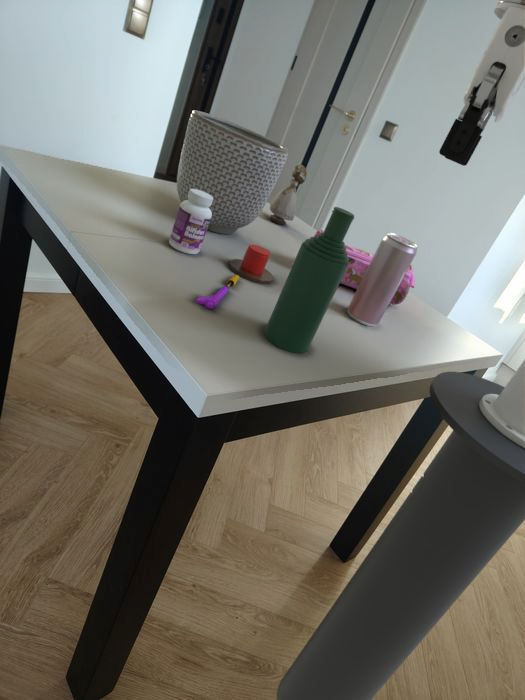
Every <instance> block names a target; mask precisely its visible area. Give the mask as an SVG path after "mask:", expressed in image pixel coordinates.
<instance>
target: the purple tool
mask: <svg viewBox="0 0 525 700" xmlns="http://www.w3.org/2000/svg"><path fill="white" fill-rule="evenodd" d="M239 280H240V275H238V274H234V275H233V276H232V277H230V278H229V279H228V280H227V282H226V284H227V285H223V286H222V287H221V288H220V289H219V290H218V291H217V292H216V293H215V294H213V295H212V294H211V295H209V296H203V295H200V296H199V297H198V298H196V300H195V303H197V304H199V305H204V307H205V308H206V309H211V310H212V309H214V308H215V307H216V306H217V305H218V304H219V303H220V301H221V300H222V299H223V298H224V296H225V295H227V293H228V292H229V290H230V288H233V287H234V286H235V285H236V284H237V282H238V281H239Z"/></svg>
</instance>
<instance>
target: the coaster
mask: <svg viewBox="0 0 525 700" xmlns="http://www.w3.org/2000/svg"><path fill="white" fill-rule="evenodd" d="M242 261H243V259H240V258H234V259H231V260H230V261H229V268H230V269H231V270H232V272H234V273H235V274H236V275H238V276H239V277H242V278H243V279H246V280H248V281H251V282H254V283H257V284H263V285H269V284H272V283H273V282H274V280H275V279H274V278H275V277H274V275H273V273H271V272H270V271H269V270H268V269H267V268H266V267H265V268H264V271H263V273H262V274H261V275H257V274H253V273H250V272H248V271H246V270H245V269H243V268H242V266H241V265H242Z"/></svg>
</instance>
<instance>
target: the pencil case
mask: <svg viewBox="0 0 525 700" xmlns="http://www.w3.org/2000/svg"><path fill="white" fill-rule="evenodd" d="M321 232H322V233H324V230H323V229H318V230H317V231H316V232H315V234H314V235H313V237H315V235H319V234H320V233H321ZM344 246H345V247H346V252H347V253H348V255H347V256H348V257H349V261H348V262H349V265H348V267H347V269H346V271H345V273H344V275H343V278H342V280H341V282H340V284H341V285H344V286H346V287H349V288H351V289H355V290H357V288H358V286H359V284H360V282H361V280H362V278H363V276H364V274H365V272H366V270H367V268H368V266H369V264H370V262H371V260H372V258H373V256H374V254H375V253H371V252H368V251H364V250H362V249H359V248H356V247H353V246H350V245H348V244H345V245H344ZM415 283H416V276H415V275H414V266H413V265H412V264H410V266H409V268H408V270H407V272H406V274H405V275H404V277H403V279H402V281H401V283H400V285H399V287H398V288H397V290H396V292H395V294H394V296H393V298H392V300H391V301H390V303H389V304H391V305H394V306H395V305H400V304H401V303H403V302H404V301H405V299H406V298H407V296H408V294H409V292H410V290H411V289H414V288H415V285H416V284H415ZM340 284H339V285H340Z"/></svg>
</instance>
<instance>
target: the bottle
mask: <svg viewBox="0 0 525 700" xmlns="http://www.w3.org/2000/svg"><path fill="white" fill-rule="evenodd" d="M331 212H332V213H331V215H330V217H329V219H328V221H327V223H326V226H325V229H324V230H323V231H324V233H322V232H321V233H320V234H319V235H315V234H314V235H315V237H314V236H310V237H309V238H306V239H304V241H302V243H301V245H300V247H299V249H298V252H297V253H296V257H295V259H294V261H293V263H292V265H291V268H290V270H289V273H288V275H287V277H286V280H285V282H284V284H283V287H282V289H281V291H280V293H279V296H278V299H277V301H276V303H275V305H274V308H273V310H272V312H271V315H270V317H269V319H268V322H267V324H266V326H265V329H264V331H263V332H264V337H266V339H267V340H268V341H269V342H270V343H272V344H273V345H274V346H276V347H278V348H280V349H281V350H284V351H287V352H289V353H294V354H304V353H306V352H308V350H309V348H310V346H311V343H312V341H314V337H315V336H316V333H317V331H318V329H319V327H320V326H321V323H322V321H323V319H324V317H325V315H326V313H327V311H328V309H329V306H330V305H331V302H332V300H333V298H334V296H335V295H336V292H337V290H338V288H339V286H340V282H341V280H342V278H343V275H344V273H345V271H346V269H347V267H348V265H349V262H348V261H349V257H348V256H347V255H348V253H347V252H346V247H345V246H344V245H346V242H344V240H345V237H346V236H347V233H348V231H349V229H350V228H351V227H350V226H351V224H352V222H353V221H354V220H355V214H354V213H352V212H351V211H348V210H346V209H344V208H341V207H339V206H335V207H334V206H333V210H331Z"/></svg>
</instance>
